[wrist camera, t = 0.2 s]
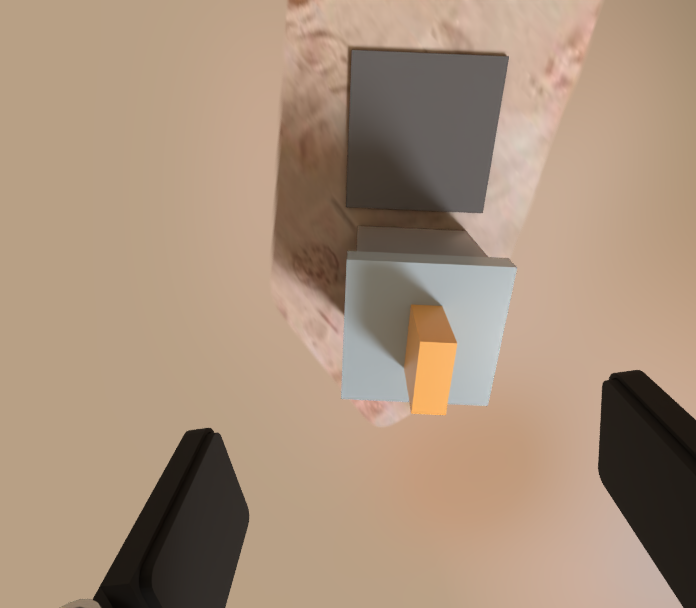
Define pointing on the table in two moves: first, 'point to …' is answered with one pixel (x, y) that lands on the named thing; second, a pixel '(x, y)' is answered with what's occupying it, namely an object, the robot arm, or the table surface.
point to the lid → (423, 328)
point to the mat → (422, 129)
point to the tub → (417, 241)
